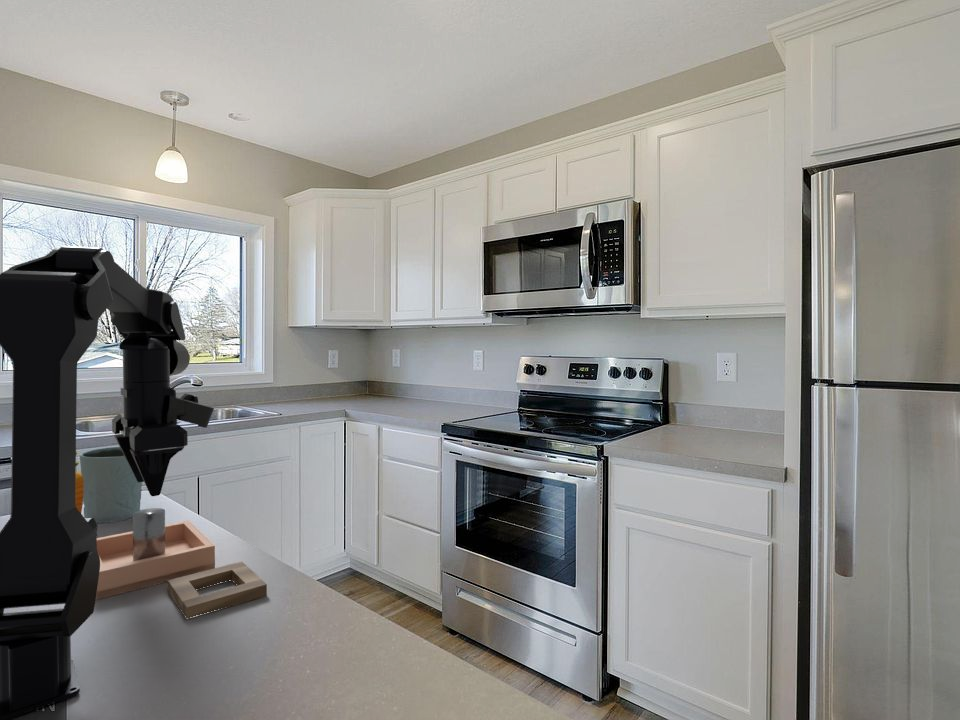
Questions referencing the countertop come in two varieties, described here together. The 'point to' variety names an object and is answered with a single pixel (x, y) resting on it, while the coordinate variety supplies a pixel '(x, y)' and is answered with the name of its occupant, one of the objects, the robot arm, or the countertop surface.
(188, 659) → the countertop surface
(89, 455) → the green embossed pot
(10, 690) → the robot arm
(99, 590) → the terracotta tray
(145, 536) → the gunmetal pin
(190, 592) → the walnut collar
